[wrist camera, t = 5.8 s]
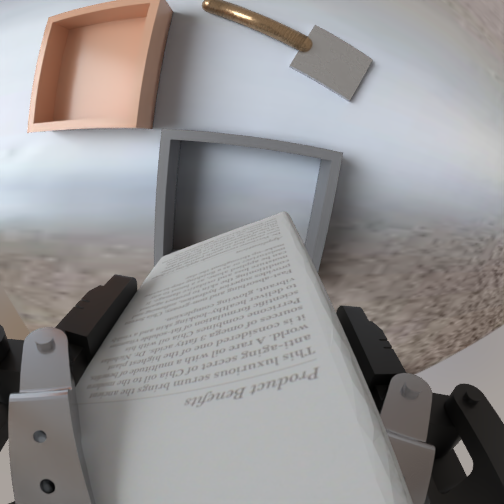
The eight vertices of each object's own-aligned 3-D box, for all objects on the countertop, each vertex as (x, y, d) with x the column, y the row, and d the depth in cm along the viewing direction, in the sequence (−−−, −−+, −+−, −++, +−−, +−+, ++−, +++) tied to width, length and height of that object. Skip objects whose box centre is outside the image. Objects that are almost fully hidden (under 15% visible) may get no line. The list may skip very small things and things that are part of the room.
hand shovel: (190, 25, 20) (187, 19, 18) (218, -13, 18) (216, -20, 17) (347, 101, 23) (353, 99, 21) (370, 61, 21) (376, 57, 19)
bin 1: (173, 11, 19) (161, -6, 15) (152, 128, 23) (135, 127, 20) (69, 26, 18) (48, 17, 15) (50, 131, 23) (27, 132, 19)
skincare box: (200, 329, 14) (142, 575, 3) (161, 254, 13) (0, 508, 2) (318, 292, 13) (402, 564, 2) (290, 206, 12) (434, 554, 1)
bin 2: (331, 150, 24) (346, 153, 20) (282, 366, 33) (285, 392, 29) (173, 129, 24) (158, 128, 20) (165, 352, 32) (157, 376, 28)
